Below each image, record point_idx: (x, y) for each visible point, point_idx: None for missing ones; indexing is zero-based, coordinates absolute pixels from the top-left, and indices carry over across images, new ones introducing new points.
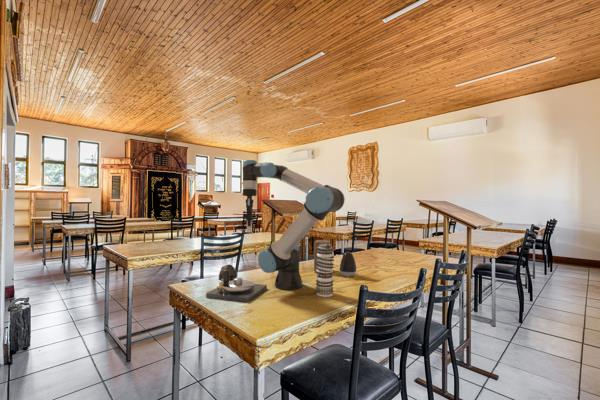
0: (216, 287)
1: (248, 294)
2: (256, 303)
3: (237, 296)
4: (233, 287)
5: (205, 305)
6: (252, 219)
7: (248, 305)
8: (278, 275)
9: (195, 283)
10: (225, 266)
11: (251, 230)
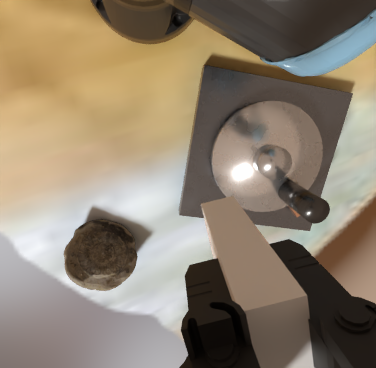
0: (296, 215)
1: (319, 101)
2: (352, 62)
3: (338, 130)
4: (305, 161)
5: (364, 199)
6: (241, 316)
7: (368, 82)
8: (172, 7)
9: (182, 310)
10: (92, 282)
11: (238, 207)
